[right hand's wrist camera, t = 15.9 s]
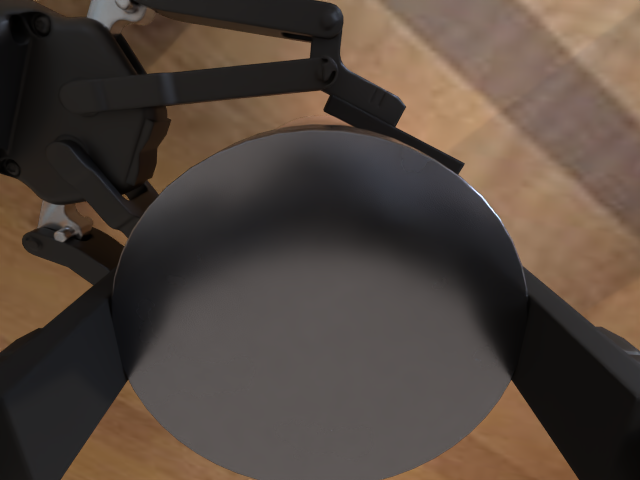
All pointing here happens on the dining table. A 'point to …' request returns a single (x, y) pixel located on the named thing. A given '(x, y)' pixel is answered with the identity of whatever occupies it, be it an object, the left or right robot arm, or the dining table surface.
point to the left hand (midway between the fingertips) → (392, 262)
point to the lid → (319, 306)
